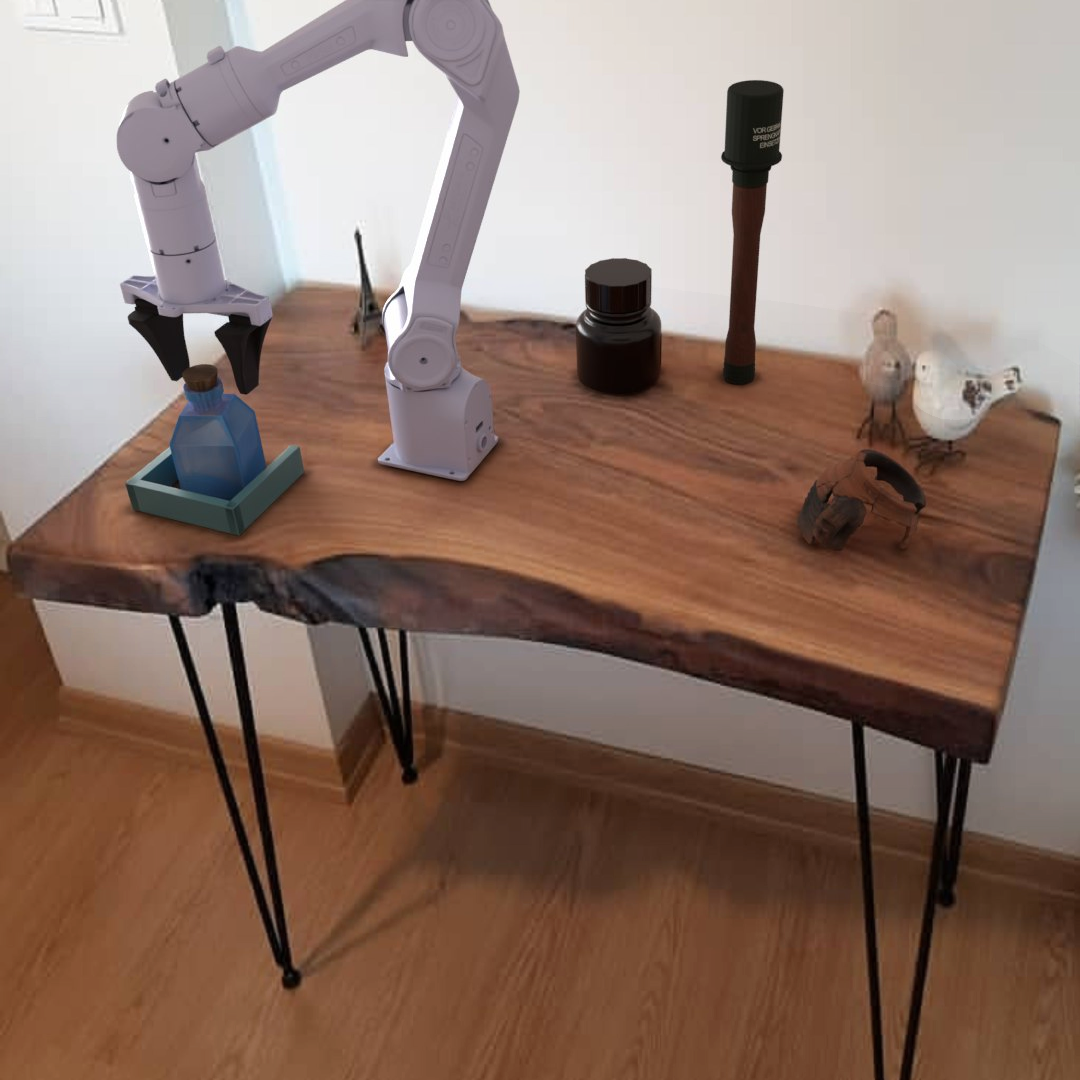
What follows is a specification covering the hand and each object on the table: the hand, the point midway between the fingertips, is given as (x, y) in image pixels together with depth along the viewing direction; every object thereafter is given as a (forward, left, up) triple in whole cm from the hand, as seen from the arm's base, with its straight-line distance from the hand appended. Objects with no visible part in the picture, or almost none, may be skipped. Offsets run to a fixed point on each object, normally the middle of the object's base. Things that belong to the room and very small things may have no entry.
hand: (214, 382), depth 112 cm
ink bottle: (-28, -30, -10) cm, 43 cm away
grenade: (-40, -34, -10) cm, 54 cm away
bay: (0, +2, -10) cm, 11 cm away
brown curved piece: (-57, -10, -10) cm, 59 cm away
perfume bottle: (0, +1, -11) cm, 11 cm away
